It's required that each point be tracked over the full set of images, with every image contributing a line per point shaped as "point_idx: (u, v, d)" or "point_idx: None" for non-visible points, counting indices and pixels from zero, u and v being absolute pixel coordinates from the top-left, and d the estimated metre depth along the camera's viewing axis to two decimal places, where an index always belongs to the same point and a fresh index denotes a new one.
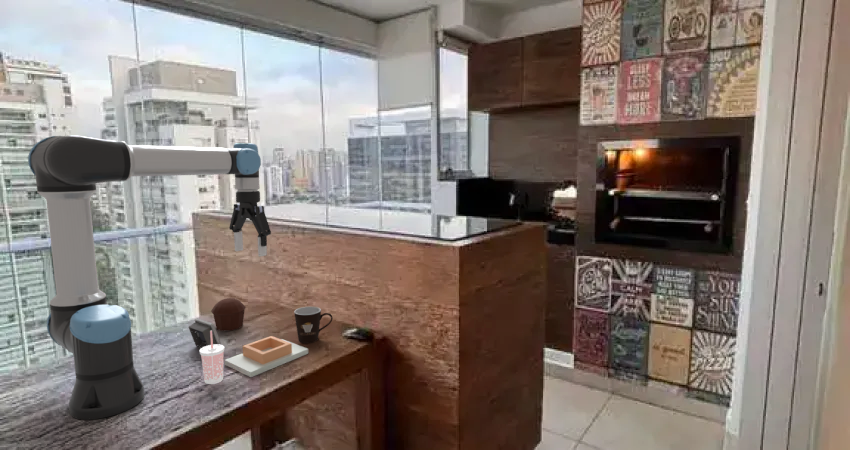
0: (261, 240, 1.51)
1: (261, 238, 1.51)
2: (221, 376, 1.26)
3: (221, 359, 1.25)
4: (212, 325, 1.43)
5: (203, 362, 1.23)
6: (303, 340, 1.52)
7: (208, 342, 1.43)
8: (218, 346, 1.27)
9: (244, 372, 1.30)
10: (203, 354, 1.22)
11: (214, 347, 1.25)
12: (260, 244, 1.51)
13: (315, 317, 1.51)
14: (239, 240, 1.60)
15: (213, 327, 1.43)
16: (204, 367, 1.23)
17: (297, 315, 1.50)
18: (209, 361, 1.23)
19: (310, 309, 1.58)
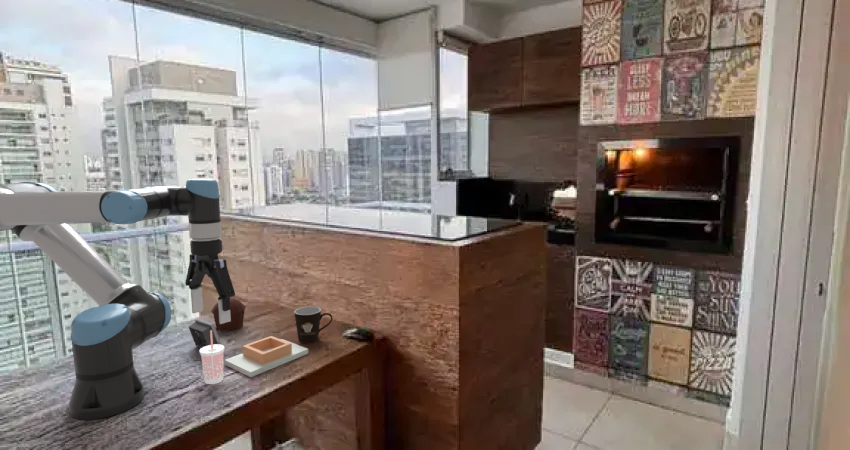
0: (223, 303, 1.18)
1: (222, 301, 1.18)
2: (221, 376, 1.26)
3: (221, 359, 1.25)
4: (212, 325, 1.43)
5: (203, 362, 1.23)
6: (303, 340, 1.52)
7: (208, 342, 1.43)
8: (218, 346, 1.27)
9: (244, 372, 1.30)
10: (203, 354, 1.22)
11: (214, 347, 1.25)
12: (221, 308, 1.18)
13: (315, 317, 1.51)
14: (198, 299, 1.27)
15: (213, 327, 1.43)
16: (204, 367, 1.23)
17: (297, 315, 1.50)
18: (209, 361, 1.23)
19: (310, 309, 1.58)
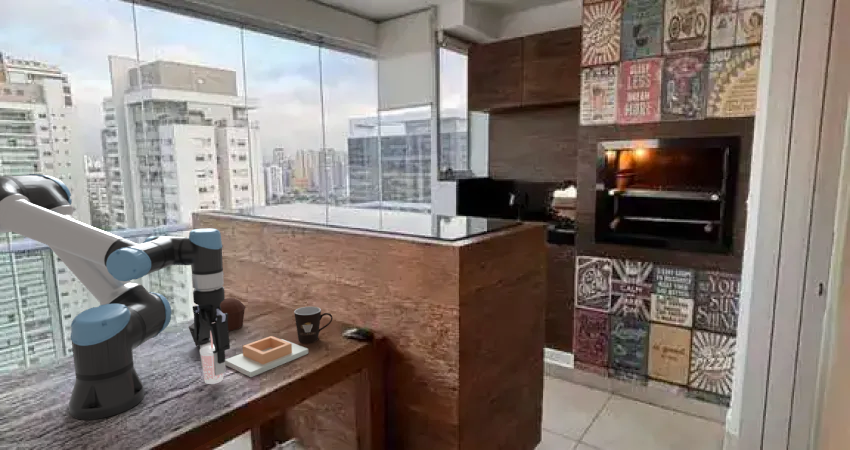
0: (218, 355, 1.22)
1: (218, 354, 1.22)
2: (221, 376, 1.26)
3: None
4: None
5: (203, 362, 1.23)
6: (303, 340, 1.52)
7: (208, 342, 1.43)
8: None
9: (244, 372, 1.30)
10: (203, 354, 1.22)
11: (214, 347, 1.25)
12: (216, 361, 1.22)
13: (315, 317, 1.51)
14: None
15: None
16: (204, 367, 1.23)
17: (297, 315, 1.50)
18: (209, 361, 1.23)
19: (310, 309, 1.58)
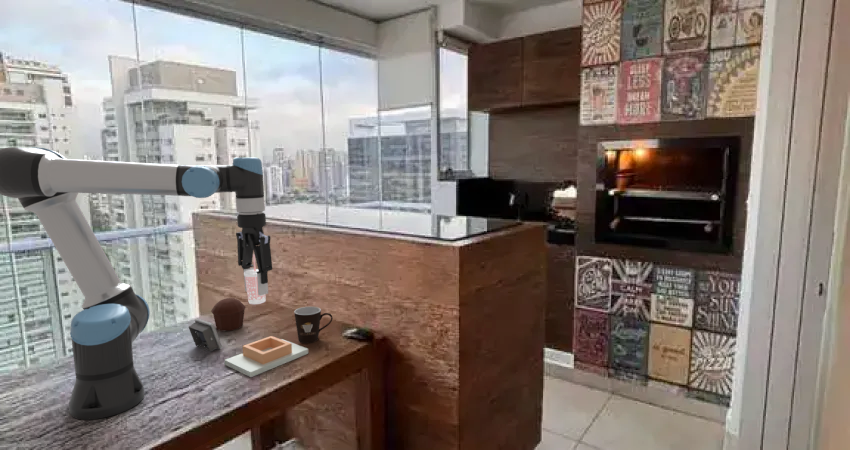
0: (261, 276, 1.30)
1: (261, 274, 1.30)
2: (264, 297, 1.33)
3: None
4: (212, 325, 1.43)
5: (247, 283, 1.31)
6: (303, 340, 1.52)
7: (208, 342, 1.43)
8: None
9: (244, 372, 1.30)
10: (247, 275, 1.30)
11: (257, 270, 1.33)
12: (260, 281, 1.30)
13: (315, 317, 1.51)
14: None
15: (213, 327, 1.43)
16: (248, 288, 1.31)
17: (297, 315, 1.50)
18: (252, 282, 1.31)
19: (310, 309, 1.58)
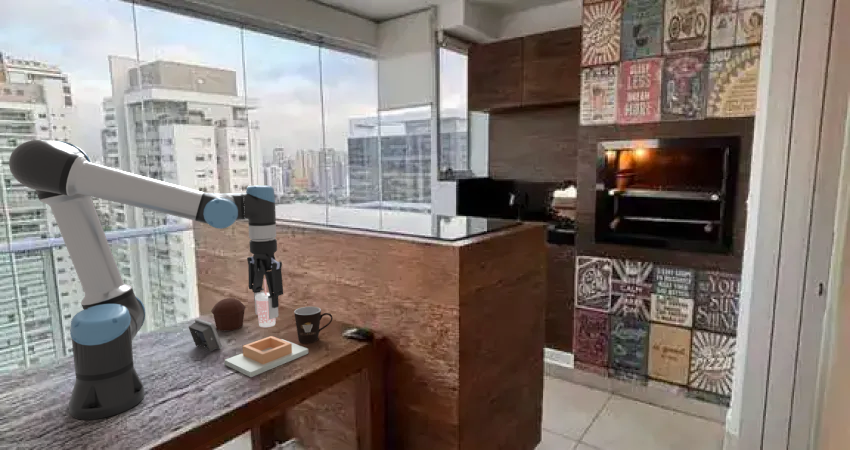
0: (272, 300, 1.34)
1: (272, 299, 1.34)
2: (274, 320, 1.38)
3: None
4: (212, 325, 1.43)
5: (258, 307, 1.35)
6: (303, 340, 1.52)
7: (208, 342, 1.43)
8: None
9: (244, 372, 1.30)
10: (259, 299, 1.34)
11: (267, 294, 1.37)
12: (271, 305, 1.34)
13: (315, 317, 1.51)
14: None
15: (213, 327, 1.43)
16: (259, 312, 1.35)
17: (297, 315, 1.50)
18: (264, 306, 1.35)
19: (310, 309, 1.58)
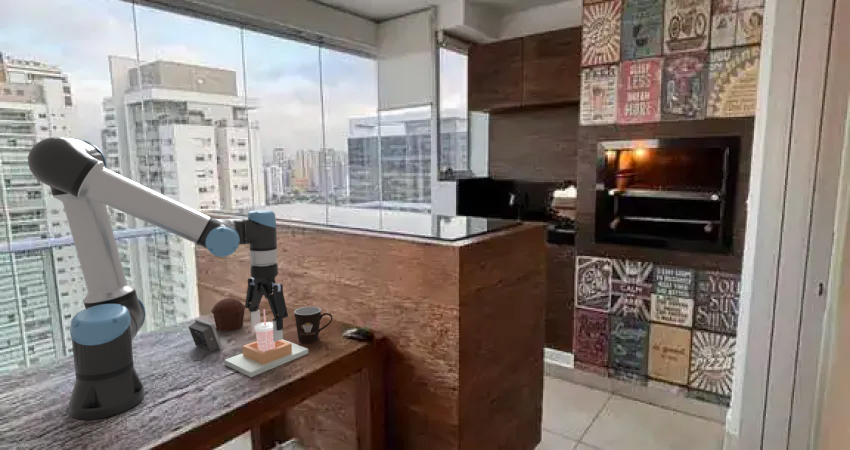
0: (277, 323, 1.34)
1: (277, 321, 1.34)
2: None
3: None
4: (212, 325, 1.43)
5: (258, 337, 1.36)
6: (303, 340, 1.52)
7: (208, 342, 1.43)
8: (270, 323, 1.40)
9: (244, 372, 1.30)
10: (258, 330, 1.35)
11: (267, 324, 1.38)
12: (275, 328, 1.34)
13: (315, 317, 1.51)
14: (256, 320, 1.41)
15: (213, 327, 1.43)
16: (259, 342, 1.37)
17: (297, 315, 1.50)
18: (263, 337, 1.36)
19: (310, 309, 1.58)
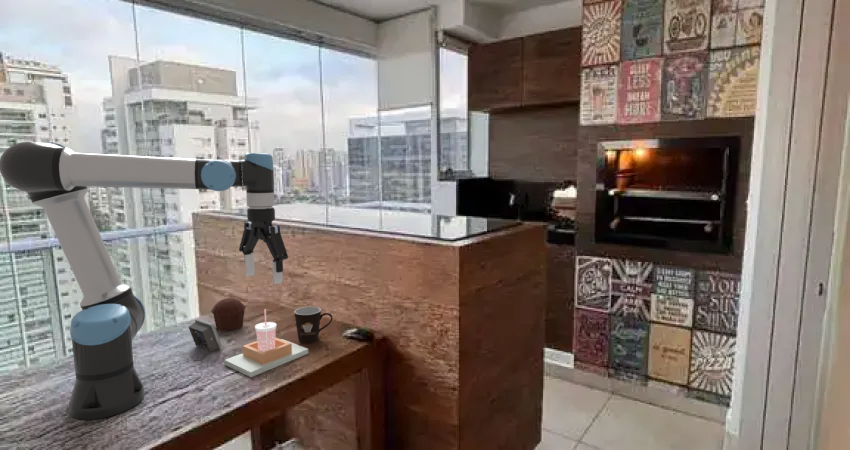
0: (276, 265, 1.30)
1: (276, 263, 1.30)
2: None
3: (274, 335, 1.38)
4: (212, 325, 1.43)
5: (258, 337, 1.37)
6: (303, 340, 1.52)
7: (208, 342, 1.43)
8: (270, 323, 1.40)
9: (244, 372, 1.30)
10: (258, 330, 1.36)
11: (267, 324, 1.39)
12: (275, 270, 1.31)
13: (315, 317, 1.51)
14: (250, 263, 1.39)
15: (213, 327, 1.43)
16: (259, 342, 1.37)
17: (297, 315, 1.50)
18: (263, 336, 1.36)
19: (310, 309, 1.58)
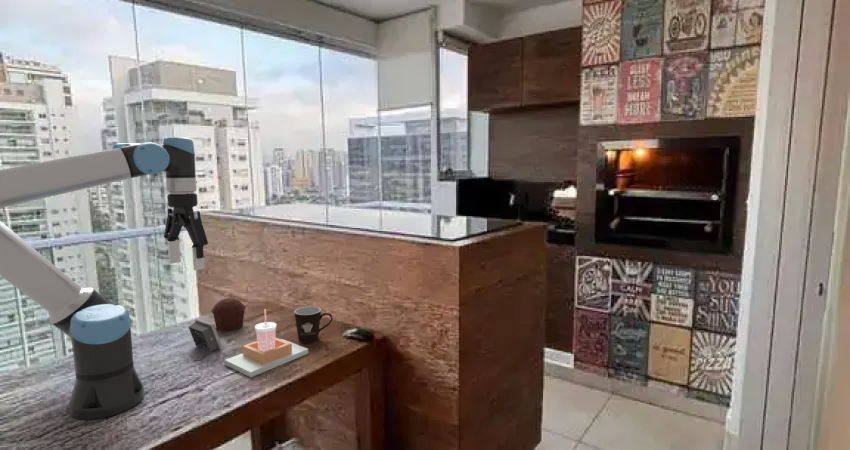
0: (196, 251, 1.29)
1: (196, 249, 1.28)
2: None
3: (274, 335, 1.38)
4: (212, 325, 1.43)
5: (258, 337, 1.37)
6: (303, 340, 1.52)
7: (208, 342, 1.43)
8: (271, 323, 1.40)
9: (244, 372, 1.30)
10: (258, 330, 1.36)
11: (267, 324, 1.38)
12: (195, 256, 1.29)
13: (315, 317, 1.51)
14: (175, 250, 1.38)
15: (213, 327, 1.43)
16: (259, 342, 1.37)
17: (297, 315, 1.50)
18: (263, 337, 1.36)
19: (310, 309, 1.58)
